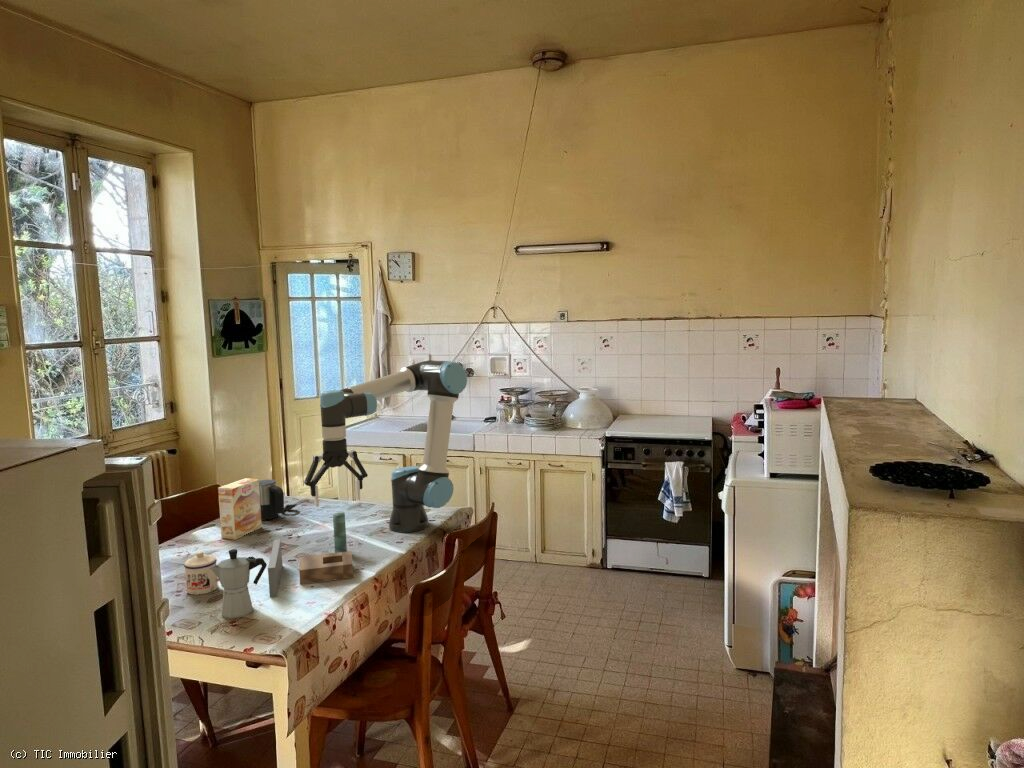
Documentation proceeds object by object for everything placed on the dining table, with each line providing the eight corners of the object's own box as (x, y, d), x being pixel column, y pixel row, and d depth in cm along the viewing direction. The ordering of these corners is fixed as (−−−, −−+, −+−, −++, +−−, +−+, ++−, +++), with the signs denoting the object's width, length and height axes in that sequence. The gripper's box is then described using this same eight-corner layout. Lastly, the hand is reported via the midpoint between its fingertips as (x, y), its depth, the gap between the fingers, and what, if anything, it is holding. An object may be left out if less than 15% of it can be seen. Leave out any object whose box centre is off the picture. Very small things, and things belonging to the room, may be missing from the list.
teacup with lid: (181, 596, 204) (178, 558, 203) (192, 584, 213) (189, 548, 212) (222, 593, 206) (220, 556, 204) (232, 581, 215) (229, 545, 213)
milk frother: (250, 520, 278) (247, 484, 276) (270, 508, 293) (267, 474, 292) (282, 521, 276) (280, 485, 274) (301, 509, 291) (299, 475, 289)
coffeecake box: (236, 540, 254) (232, 488, 252) (220, 538, 256) (216, 487, 254) (262, 527, 268) (259, 478, 266) (247, 525, 271) (244, 477, 268)
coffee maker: (212, 623, 186) (207, 559, 184) (212, 610, 194) (208, 548, 192) (270, 612, 192) (266, 550, 190) (268, 600, 200) (264, 540, 198)
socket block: (352, 564, 226) (351, 551, 226) (353, 577, 215) (352, 563, 214) (301, 570, 222) (300, 556, 222) (300, 584, 211) (299, 570, 210)
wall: (282, 565, 227) (280, 539, 226) (277, 596, 202) (275, 567, 201) (276, 566, 227) (274, 539, 226) (269, 597, 202) (267, 568, 201)
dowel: (346, 551, 239) (344, 512, 238) (347, 554, 236) (344, 515, 234) (334, 552, 238) (332, 513, 237) (335, 556, 235) (332, 516, 233)
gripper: (368, 432, 231) (370, 493, 234) (292, 441, 219) (296, 505, 221) (375, 435, 225) (378, 498, 227) (297, 444, 213) (301, 511, 215)
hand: (337, 502), depth 224 cm, fingers open, 13 cm apart
